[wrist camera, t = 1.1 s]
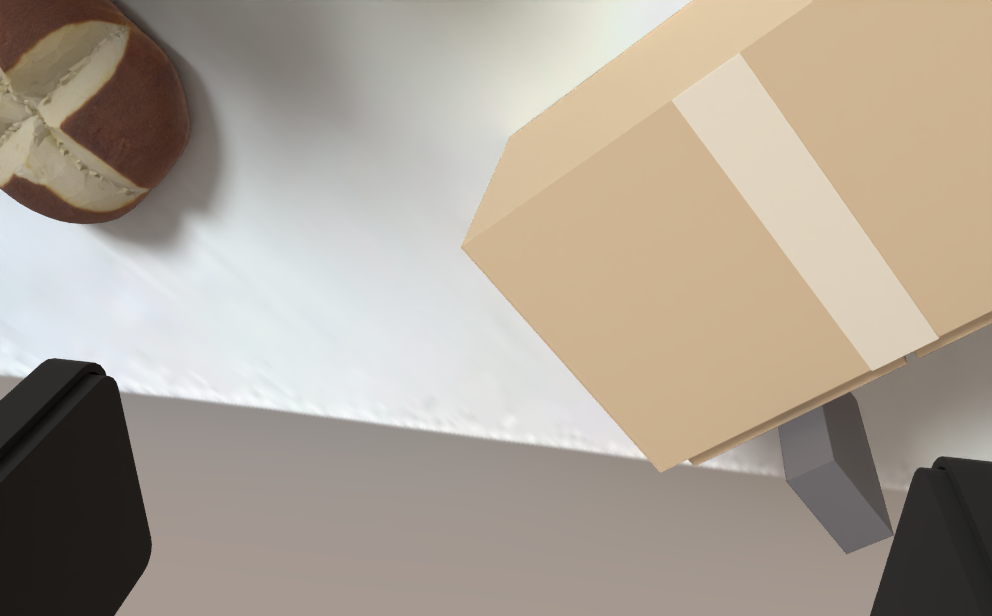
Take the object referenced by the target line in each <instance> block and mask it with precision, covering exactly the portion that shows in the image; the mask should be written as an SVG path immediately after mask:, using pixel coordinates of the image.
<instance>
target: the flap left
mask: <svg viewBox="0 0 992 616" xmlns="http://www.w3.org/2000/svg"><path fill="white" fill-rule="evenodd" d="M906 364H908V363H907V360H906V358H905V355H904V356H902V357H900V358H898V359H896V360H894V361H892V362H890V363H888V364H886V365H884V366H882V367H880V368H878V369H876V370H874V371H872V370H870V371H868V372H866V373H864V374H862V375H860V376H858V377H855V378H853V379H851V380H849V381H847V382H845V383H843V384H841V385H839V386H837V387H835V388H833V389H831V390H829V391H827V392H825V393H823V394H821V395H819V396H817V397H815V398H812V399H810V400H808V401H806V402H804V403H802V404H800V405H798V406H796V407H794V408H792V409H790V410H788V411H786V412H784V413H782V414H780V415H778V416H776V417H774V418H772V419H769V420H767V421H765V422H763V423H761V424H759V425H757V426H755V427H753V428H751V429H749V430H747V431H745V432H743V433H741V434H739V435H737V436H735V437H733V438H731V439H728V440H726V441H724V442H722V443H720V444H718V445H716V446H714V447H712V448H710V449H708V450H706V451H704V452H702V453H700V454H698V455H696V456H694V457H692V458H690V459H688V460H689V461H690V462H691V463H692V464H693V466H694V467H695V466H697V465H699V464H701V463H703V462H705V461H707V460H709V459H711V458H713V457H715V456H717V455H719V454H721V453H724V452H726V451H728V450H730V449H732V448H734V447H736V446H738V445H740V444H742V443H744V442H746V441H748V440H751V439H753V438H755V437H757V436H759V435H761V434H763V433H765V432H767V431H769V430H771V429H773V428H775V427H777V426H778V428H779V435H780V442H781V448H782V455H783V462H784V469H785V475H786V481H787V483H788V484H789V485H790V486H791V487H792V489H793V490H794V491H795V492H796V493H797V495H798V496H799V497H800V498H801V500H802V501H803V502H804V503H805V504H806V506H807V507H808V508H809V509H810V511H811V512H812V513H813V514H814V515H815V517H816V518H817V519H818V520H819V521H820V523H821V524H822V525H823V526H824V527H825V529H826V530H827V531H828V532H829V533H830V535H831V536H832V537H833V538H834V539H835V541H836V542H837V543H838V544H839V546H840V547H841V548H842V549H843V551H844V552H845V553H846V554H848V553H850V552H853V551H856V550H858V549H861V548H863V547H866V546H868V545H870V544H873V543H876V542H878V541H881V540H883V539H886V538H888V537H891V536H893V535H894V534H893V531H892V527H891V523H890V520H889V516H888V512H887V509H886V505H885V502H884V498H883V495H882V491H881V487H880V483H879V480H878V476H877V473H876V469H875V465H874V462H873V458H872V454H871V451H870V447H869V444H868V440H867V436H866V433H865V429H864V425H863V422H862V418H861V415H860V411H859V407H858V404H857V400H856V399H855V397H854V396H853V395H852V394H851V392H850V391H852V390H854V389H856V388H858V387H860V386H862V385H865V384H867V383H869V382H871V381H873V380H875V379H877V378H879V377H881V376H883V375H885V374H887V373H889V372H892V371H894V370H896V369H898V368H900V367H902V366H904V365H906Z"/></svg>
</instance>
